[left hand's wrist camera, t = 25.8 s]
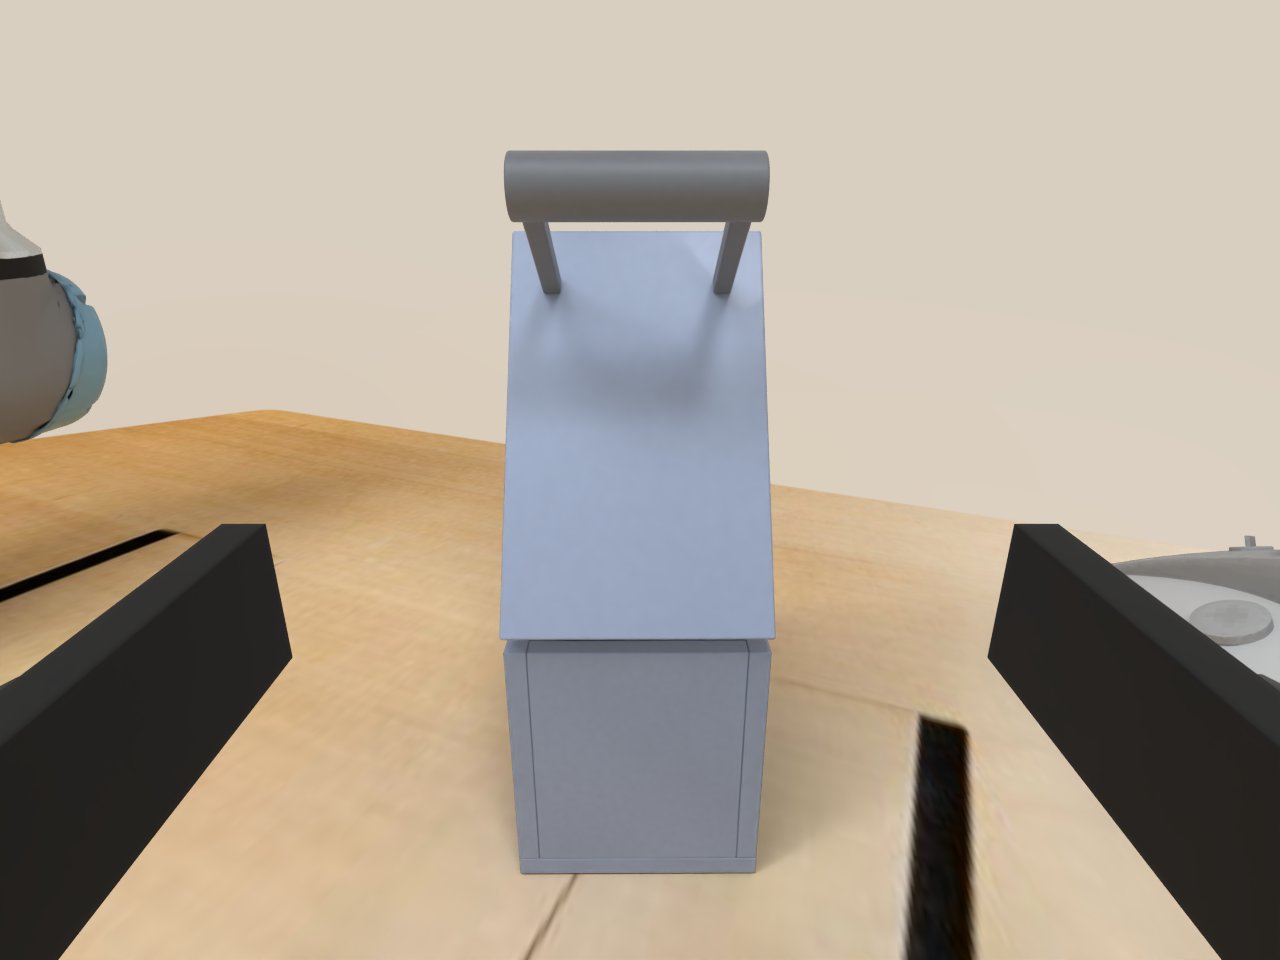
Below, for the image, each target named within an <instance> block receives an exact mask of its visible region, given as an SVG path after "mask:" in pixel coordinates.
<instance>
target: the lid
mask: <svg viewBox="0 0 1280 960" xmlns="http://www.w3.org/2000/svg"><path fill="white" fill-rule="evenodd" d="M769 181H770V167H769V158H768V154H767V152H766V151H507V153H506V156H505V161H504V188H505V199H506V206H507V211H508V215H509V217H510V220H511V221H512V222H523V225H524V229H525V231H514V232H513V236H512V267H511V298H510V329H509V360H508V391H507V423H506V453H505V484H504V515H503V547H502V578H501V609H500V639H501V640H676V639H775V609H774V581H773V553H772V525H771V496H770V468H769V440H768V412H767V384H766V356H765V328H764V299H763V271H762V242H761V232H760V231H749V228H750V225H751V222H761V221H763V219H764V217H765V214H766V209H767V204H768V196H769ZM548 222H726V224H725V228H724V231H550V229H549V225H548Z"/></svg>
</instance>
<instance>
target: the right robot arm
mask: <svg viewBox="0 0 1280 960" xmlns="http://www.w3.org/2000/svg"><path fill="white" fill-rule="evenodd" d="M85 301H86V296H85V294H84V293H83V292H82V291H81V290H80V288H79V287H78V286H77V285H75V284H74V283H73V282H72V281H71V280H69V279H67V278H66V277H64V276H62V275H60V274H58V273H54V272H51V271H49V270H47V269H46V266H45V262H44V258H43V255H42V251H41V248H40V247H38V246H37V245H36V244H34V243H33V242H31V241H30V240H28V239H27V238H26V237H24V236H23V235H21V234H20V233H18V232H17V231H16V230H14V229H13V228H12V227H11V226H10V225H9V224H8V223H7V222H6V220H5V217H4V213H3V209H2V205H1V202H0V444H3V443H7V442H10V443H17V442H22V441H25V440H29V439H32V438H34V437H36V436H38V435H40V434H41V433H44V432H47V431H50V430H53V429H56V428H59V427H63V426H66V425H69V424H71V423H74V422H75V421H77V420H79V419H80V418H82V417H83V416H84V415H86V414H87V413H88V412H89V410H90V409H91V407H92V404H94V403H95V402H96V401H97V400H98V398H99V397H100V394H101V392H102V390H103V387H104V383H105V379H106V373H107V348H106V341H105V336H104V332H103V328H102V326H101V323H100V320H99V318H98V315H97V314H96V311H95V310H94V308H93V307H92V306H89V305H86V304H85Z"/></svg>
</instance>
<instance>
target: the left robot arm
mask: <svg viewBox="0 0 1280 960" xmlns="http://www.w3.org/2000/svg"><path fill="white" fill-rule="evenodd" d="M291 659H292V652H291V647H290V642H289V638H288V633H287V628H286V623H285V618H284V613H283V608H282V603H281V598H280V593H279V588H278V583H277V578H276V573H275V568H274V563H273V558H272V553H271V548H270V544H269V539H268V534H267V529H266V524H221V525H220V526H219V527H217V528H216V529H215V530H213V531H212V532H211V533H209V534H208V535H207V536H205V537H204V538H203V539H201V540H200V541H199V542H197V543H196V544H195V545H193V546H192V547H191V548H189V549H188V550H187V551H185V552H184V553H183V554H181V555H180V556H179V557H177V558H176V559H175V560H173V561H172V562H171V563H169V564H168V565H167V566H165V567H164V568H163V569H161V570H160V571H159V572H157V573H156V574H155V575H153V576H152V577H151V578H150V579H148V580H147V581H146V582H144V583H143V584H142V585H140V586H139V587H138V588H136V589H135V590H134V591H132V592H131V593H130V594H128V595H127V596H126V597H124V598H123V599H122V600H120V601H119V602H118V603H116V604H115V605H114V606H112V607H111V608H110V609H108V610H107V611H106V612H104V613H103V614H102V615H100V616H99V617H98V618H96V619H95V620H94V621H92V622H91V623H90V624H88V625H87V626H86V627H85V628H83V629H82V630H81V631H79V632H78V633H77V634H75V635H74V636H73V637H71V638H70V639H69V640H67V641H66V642H65V643H63V644H62V645H61V646H59V647H58V648H57V649H55V650H54V651H53V652H51V653H50V654H49V655H47V656H46V657H45V658H43V659H42V660H41V661H39V662H38V663H37V664H35V665H34V666H33V667H31V668H30V669H29V670H27V671H26V672H25V673H23V674H22V675H21V676H20V677H17V678H15V679H13V680H11V681H9V682H7V683H5V684H3V685H1V686H0V960H58V959H59V958H60V957H61V956H62V954H63V953H64V952H65V950H66V949H67V948H68V947H69V945H70V944H71V943H72V941H73V940H74V939H75V938H76V936H77V935H78V934H79V932H80V931H81V930H82V928H83V927H84V926H85V925H86V923H87V922H88V921H89V919H90V918H91V917H92V916H93V914H94V913H95V912H96V910H97V909H98V908H99V907H100V905H101V904H102V903H103V901H104V900H105V899H106V897H107V896H108V895H109V894H110V892H111V891H112V890H113V888H114V887H115V886H116V885H117V883H118V882H119V881H120V879H121V878H122V877H123V876H124V874H125V873H126V872H127V870H128V869H129V868H130V867H131V865H132V864H133V863H134V861H135V860H136V859H137V857H138V856H139V855H140V854H141V852H142V851H143V850H144V848H145V847H146V846H147V845H148V843H149V842H150V841H151V839H152V838H153V837H154V836H155V834H156V833H157V832H158V830H159V829H160V828H161V826H162V825H163V824H164V823H165V821H166V820H167V819H168V817H169V816H170V815H171V814H172V812H173V811H174V810H175V808H176V807H177V806H178V805H179V803H180V802H181V801H182V799H183V798H184V797H185V796H186V794H187V793H188V792H189V790H190V789H191V788H192V786H193V785H194V784H195V783H196V781H197V780H198V779H199V777H200V776H201V775H202V774H203V772H204V771H205V770H206V768H207V767H208V766H209V765H210V763H211V762H212V761H213V759H214V758H215V757H216V755H217V754H218V753H219V752H220V750H221V749H222V748H223V746H224V745H225V744H226V743H227V741H228V740H229V739H230V737H231V736H232V735H233V734H234V732H235V731H236V730H237V728H238V727H239V726H240V725H241V723H242V722H243V721H244V719H245V718H246V717H247V715H248V714H249V713H250V712H251V710H252V709H253V708H254V706H255V705H256V704H257V703H258V701H259V700H260V699H261V697H262V696H263V695H264V694H265V692H266V691H267V690H268V688H269V687H270V686H271V684H272V683H273V682H274V681H275V679H276V678H277V677H278V675H279V674H280V673H281V672H282V670H283V669H284V668H285V666H286V665H287V664H288V663H289V661H290V660H291ZM988 659H989V660H990V661H991V663H992V664H993V665H994V666H995V668H996V669H997V670H998V672H999V673H1000V674H1001V675H1002V677H1003V678H1004V679H1005V681H1006V682H1007V683H1008V684H1009V686H1010V687H1011V688H1012V690H1013V691H1014V692H1015V694H1016V695H1017V696H1018V697H1019V699H1020V700H1021V701H1022V703H1023V704H1024V705H1025V706H1026V708H1027V709H1028V710H1029V712H1030V713H1031V714H1032V715H1033V717H1034V718H1035V719H1036V721H1037V722H1038V723H1039V725H1040V726H1041V727H1042V728H1043V730H1044V731H1045V732H1046V734H1047V735H1048V736H1049V737H1050V739H1051V740H1052V741H1053V743H1054V744H1055V745H1056V746H1057V748H1058V749H1059V750H1060V752H1061V753H1062V754H1063V755H1064V757H1065V758H1066V759H1067V761H1068V762H1069V763H1070V765H1071V766H1072V767H1073V768H1074V770H1075V771H1076V772H1077V774H1078V775H1079V776H1080V777H1081V779H1082V780H1083V781H1084V783H1085V784H1086V785H1087V786H1088V788H1089V789H1090V790H1091V792H1092V793H1093V794H1094V796H1095V797H1096V798H1097V799H1098V801H1099V802H1100V803H1101V805H1102V806H1103V807H1104V808H1105V810H1106V811H1107V812H1108V814H1109V815H1110V816H1111V817H1112V819H1113V820H1114V821H1115V823H1116V824H1117V825H1118V826H1119V828H1120V829H1121V830H1122V832H1123V833H1124V834H1125V836H1126V837H1127V838H1128V839H1129V841H1130V842H1131V843H1132V845H1133V846H1134V847H1135V848H1136V850H1137V851H1138V852H1139V854H1140V855H1141V856H1142V857H1143V859H1144V860H1145V861H1146V863H1147V864H1148V865H1149V867H1150V868H1151V869H1152V870H1153V872H1154V873H1155V874H1156V876H1157V877H1158V878H1159V879H1160V881H1161V882H1162V883H1163V885H1164V886H1165V887H1166V888H1167V890H1168V891H1169V892H1170V894H1171V895H1172V896H1173V897H1174V899H1175V900H1176V901H1177V903H1178V904H1179V905H1180V907H1181V908H1182V909H1183V910H1184V912H1185V913H1186V914H1187V916H1188V917H1189V918H1190V919H1191V921H1192V922H1193V923H1194V925H1195V926H1196V927H1197V928H1198V930H1199V931H1200V932H1201V934H1202V935H1203V936H1204V938H1205V939H1206V940H1207V941H1208V943H1209V944H1210V945H1211V947H1212V948H1213V949H1214V950H1215V952H1216V953H1217V954H1218V956H1219V957H1220V958H1221V959H1222V960H1280V683H1279V682H1277V681H1275V680H1273V679H1271V678H1269V677H1267V676H1265V675H1263V674H1257V673H1255V672H1254V671H1253V670H1251V669H1250V668H1249V667H1247V666H1246V665H1245V664H1243V663H1242V662H1241V661H1239V660H1238V659H1237V658H1235V657H1234V656H1233V655H1231V654H1230V653H1229V652H1227V651H1226V650H1225V649H1223V648H1222V647H1221V646H1219V645H1218V644H1217V643H1215V642H1214V641H1213V640H1211V639H1210V638H1209V637H1207V636H1206V635H1205V634H1203V633H1202V632H1201V631H1199V630H1198V629H1197V628H1195V627H1194V626H1193V625H1192V624H1190V623H1189V622H1188V621H1186V620H1185V619H1184V618H1182V617H1181V616H1180V615H1178V614H1177V613H1176V612H1174V611H1173V610H1172V609H1170V608H1169V607H1168V606H1166V605H1165V604H1164V603H1162V602H1161V601H1160V600H1158V599H1157V598H1156V597H1154V596H1153V595H1152V594H1150V593H1149V592H1148V591H1146V590H1145V589H1144V588H1142V587H1141V586H1140V585H1138V584H1137V583H1136V582H1134V581H1133V580H1132V579H1130V578H1129V577H1128V576H1126V575H1125V574H1124V573H1123V572H1121V571H1120V570H1119V569H1117V568H1116V567H1115V566H1113V565H1112V564H1111V563H1109V562H1108V561H1107V560H1105V559H1104V558H1103V557H1101V556H1100V555H1099V554H1097V553H1096V552H1095V551H1093V550H1092V549H1091V548H1089V547H1088V546H1087V545H1085V544H1084V543H1083V542H1081V541H1080V540H1079V539H1077V538H1076V537H1075V536H1073V535H1072V534H1071V533H1069V532H1068V531H1067V530H1065V529H1064V528H1063V527H1061V526H1060V525H1059V524H1014V529H1013V534H1012V539H1011V544H1010V548H1009V553H1008V558H1007V563H1006V568H1005V573H1004V578H1003V583H1002V588H1001V593H1000V598H999V603H998V608H997V613H996V618H995V623H994V628H993V633H992V638H991V642H990V647H989V652H988Z"/></svg>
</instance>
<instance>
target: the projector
mask: <svg viewBox="0 0 1280 960" xmlns="http://www.w3.org/2000/svg"><path fill="white" fill-rule="evenodd" d="M1245 545H1246V547H1230V548H1229V551H1219V552H1205V553H1192V554H1181V555H1172V556H1163V557H1154V558H1146V559H1139V560H1132V561H1126V562H1119V563H1114V564H1112V565H1113V566H1115V567H1116V568H1117V569H1119V570H1120V571H1121V572H1123V573H1124V574H1125V575H1126V576H1128V577H1129V578H1130V579H1132V580H1133V581H1134V582H1136V583H1137V584H1138V585H1140V586H1141V587H1142V588H1144V589H1145V590H1146V591H1148V592H1149V593H1150V594H1152V595H1153V596H1154V597H1156V598H1157V599H1158V600H1160V601H1161V602H1162V603H1164V604H1165V605H1166V606H1168V607H1169V608H1170V609H1172V610H1173V611H1174V612H1176V613H1177V614H1178V615H1180V616H1181V617H1182V618H1184V619H1185V620H1186V621H1188V622H1189V623H1190V624H1192V625H1193V626H1194V627H1195V628H1197V629H1198V630H1199V631H1201V632H1202V633H1203V634H1205V635H1206V636H1207V637H1209V638H1210V639H1211V640H1213V641H1214V642H1215V643H1217V644H1218V645H1219V646H1221V647H1222V648H1223V649H1225V650H1226V651H1227V652H1229V653H1230V654H1231V655H1233V656H1234V657H1235V658H1237V659H1238V660H1239V661H1241V662H1242V663H1243V664H1245V665H1246V666H1247V667H1249V668H1250V669H1251V670H1253V671H1254V672H1255V673H1257V674H1263V675H1265V676H1267V677H1269V678H1271V679H1273V680H1275V681H1277V682H1279V683H1280V550H1273V547H1272V546H1258V547H1256V543H1255V536H1245Z"/></svg>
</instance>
